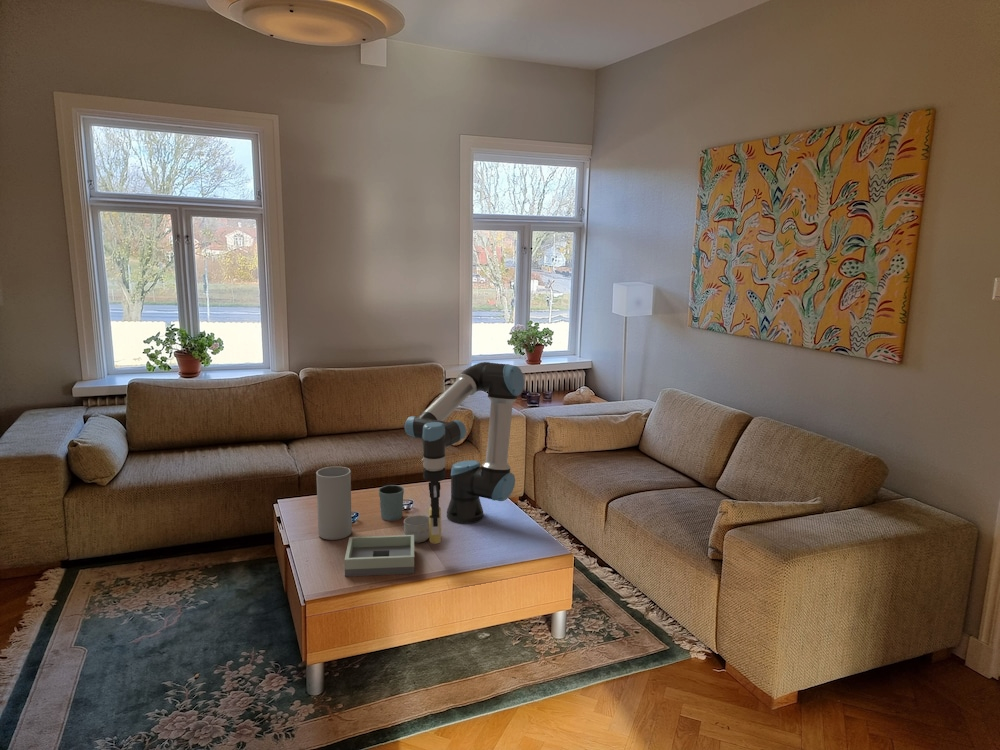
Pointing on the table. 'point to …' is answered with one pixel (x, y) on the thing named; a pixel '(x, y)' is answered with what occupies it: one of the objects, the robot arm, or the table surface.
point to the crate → (380, 555)
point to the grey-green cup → (391, 502)
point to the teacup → (417, 527)
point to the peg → (432, 538)
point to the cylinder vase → (334, 502)
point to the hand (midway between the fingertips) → (435, 531)
